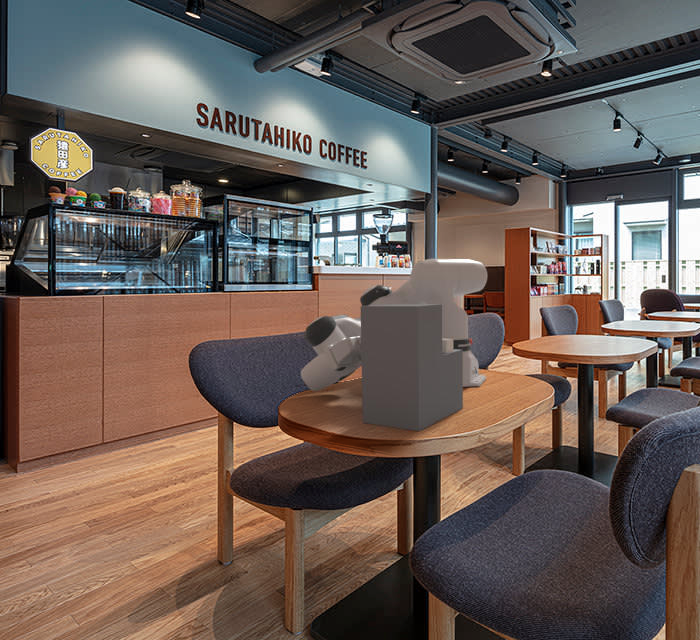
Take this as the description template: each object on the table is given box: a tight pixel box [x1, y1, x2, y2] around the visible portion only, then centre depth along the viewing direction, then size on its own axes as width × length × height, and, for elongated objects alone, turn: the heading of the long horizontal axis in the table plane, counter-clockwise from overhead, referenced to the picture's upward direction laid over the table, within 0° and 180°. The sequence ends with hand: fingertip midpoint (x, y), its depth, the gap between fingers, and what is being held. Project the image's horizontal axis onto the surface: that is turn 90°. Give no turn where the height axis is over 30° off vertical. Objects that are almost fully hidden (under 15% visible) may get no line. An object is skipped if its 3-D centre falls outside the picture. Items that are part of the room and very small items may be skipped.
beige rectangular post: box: [442, 338, 453, 353], centre depth 125 cm, size 4×21×3 cm, turn 56°
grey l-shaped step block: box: [359, 304, 464, 432], centre depth 118 cm, size 24×14×26 cm, turn 146°
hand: (385, 331), depth 129 cm, fingers open, 8 cm apart
